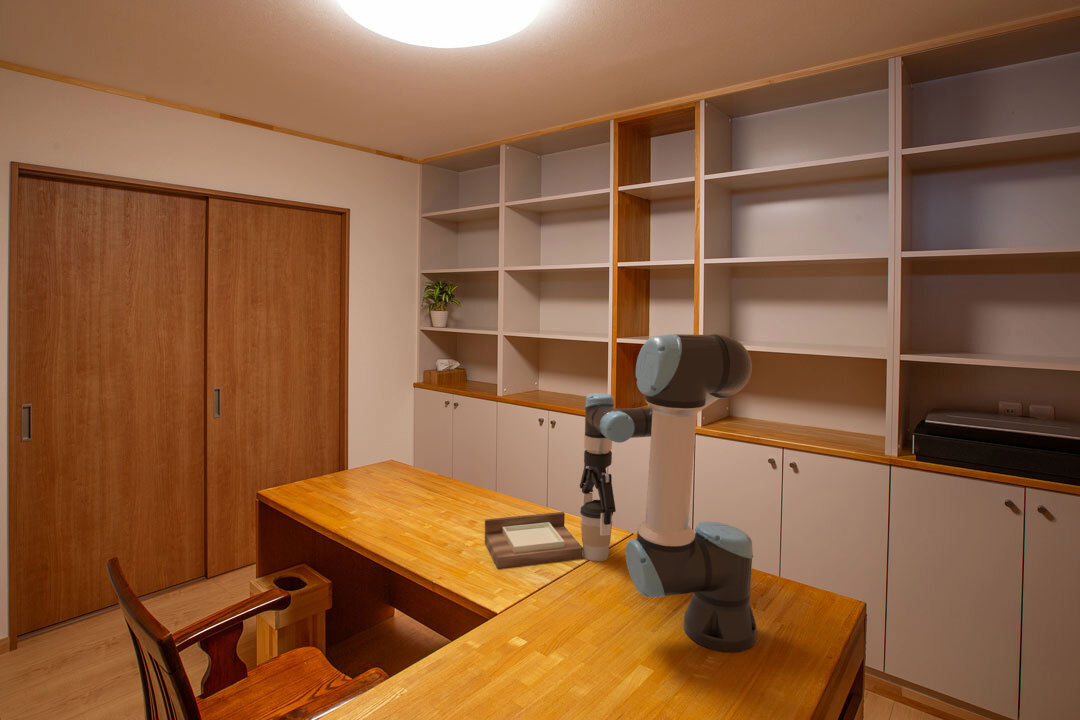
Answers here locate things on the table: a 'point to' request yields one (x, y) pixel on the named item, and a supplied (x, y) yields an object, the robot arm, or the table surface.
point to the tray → (532, 537)
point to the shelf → (508, 558)
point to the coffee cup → (593, 532)
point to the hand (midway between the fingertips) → (595, 524)
